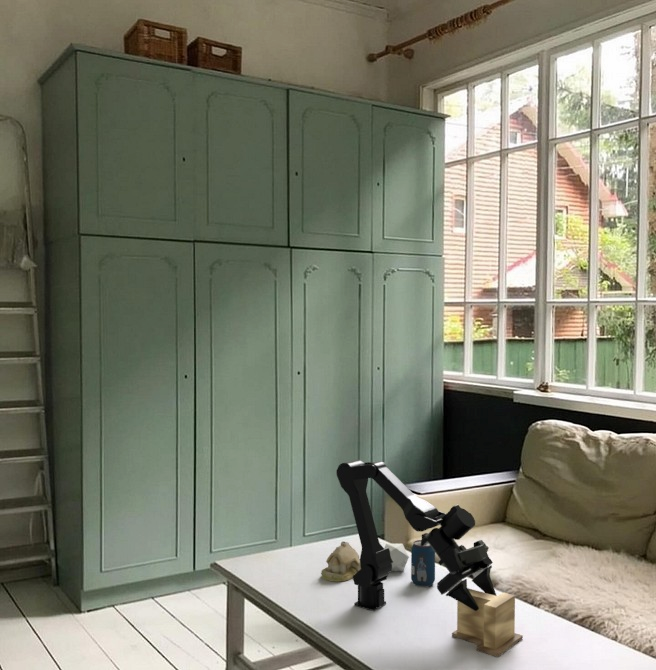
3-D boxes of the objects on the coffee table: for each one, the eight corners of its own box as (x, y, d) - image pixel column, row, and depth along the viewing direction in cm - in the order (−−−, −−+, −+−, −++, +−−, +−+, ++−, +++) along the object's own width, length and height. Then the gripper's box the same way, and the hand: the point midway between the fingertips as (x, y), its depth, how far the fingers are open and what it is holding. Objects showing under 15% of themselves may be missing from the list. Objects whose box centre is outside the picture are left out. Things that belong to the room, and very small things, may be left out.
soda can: (428, 578, 230) (428, 538, 229) (439, 586, 223) (439, 545, 223) (407, 580, 228) (407, 540, 227) (417, 588, 221) (417, 547, 221)
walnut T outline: (445, 640, 187) (445, 637, 187) (471, 623, 197) (471, 620, 197) (498, 657, 178) (498, 653, 178) (522, 638, 188) (522, 635, 188)
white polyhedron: (400, 578, 231) (416, 550, 234) (375, 563, 233) (391, 535, 235) (397, 579, 239) (412, 551, 242) (373, 564, 240) (389, 537, 243)
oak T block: (450, 635, 188) (450, 595, 187) (470, 622, 195) (471, 583, 195) (495, 649, 180) (495, 607, 180) (514, 635, 188) (515, 595, 187)
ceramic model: (338, 565, 242) (338, 533, 242) (370, 571, 236) (370, 539, 236) (314, 578, 230) (314, 545, 229) (347, 585, 224) (347, 551, 224)
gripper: (448, 540, 182) (490, 597, 176) (486, 523, 197) (525, 576, 190) (420, 566, 187) (459, 622, 181) (458, 548, 202) (496, 599, 195)
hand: (486, 604), depth 187 cm, fingers open, 9 cm apart
